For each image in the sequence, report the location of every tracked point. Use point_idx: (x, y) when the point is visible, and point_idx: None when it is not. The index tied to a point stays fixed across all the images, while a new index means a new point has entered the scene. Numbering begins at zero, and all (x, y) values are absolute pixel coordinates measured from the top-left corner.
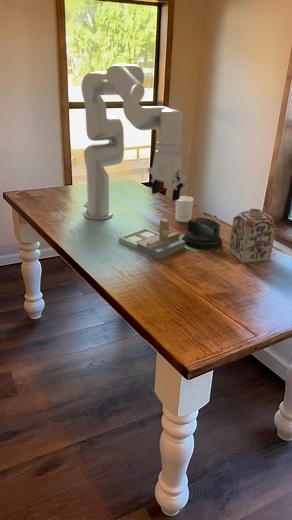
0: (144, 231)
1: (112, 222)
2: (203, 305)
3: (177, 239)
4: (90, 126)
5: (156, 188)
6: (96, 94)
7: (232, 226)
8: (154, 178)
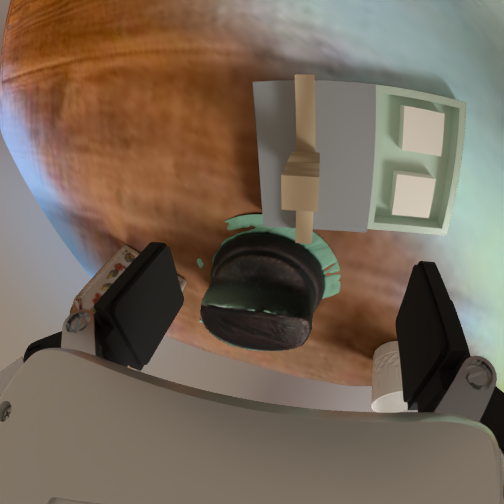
0: (440, 220)
1: None
2: (52, 51)
3: (291, 219)
4: None
5: (413, 330)
6: None
7: None
8: (432, 423)
